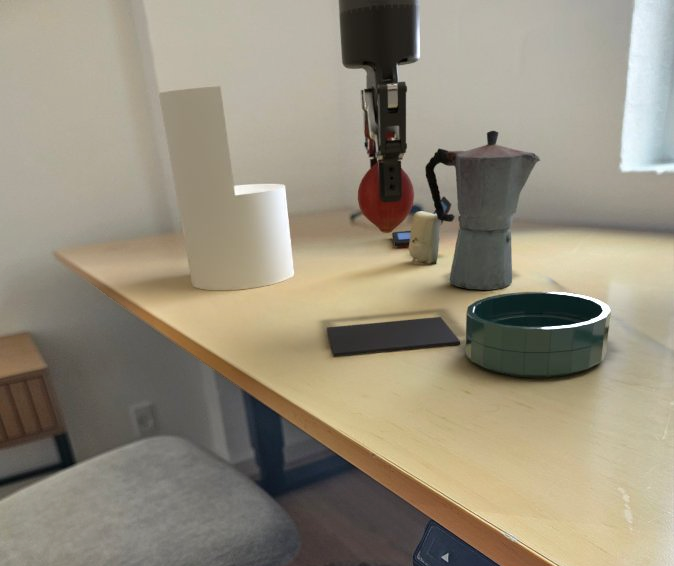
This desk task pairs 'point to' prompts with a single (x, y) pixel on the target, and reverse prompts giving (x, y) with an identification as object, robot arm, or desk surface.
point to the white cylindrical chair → (222, 200)
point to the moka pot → (483, 210)
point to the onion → (384, 212)
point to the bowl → (537, 333)
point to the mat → (390, 336)
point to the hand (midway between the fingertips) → (386, 197)
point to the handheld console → (403, 237)
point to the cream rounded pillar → (424, 238)
